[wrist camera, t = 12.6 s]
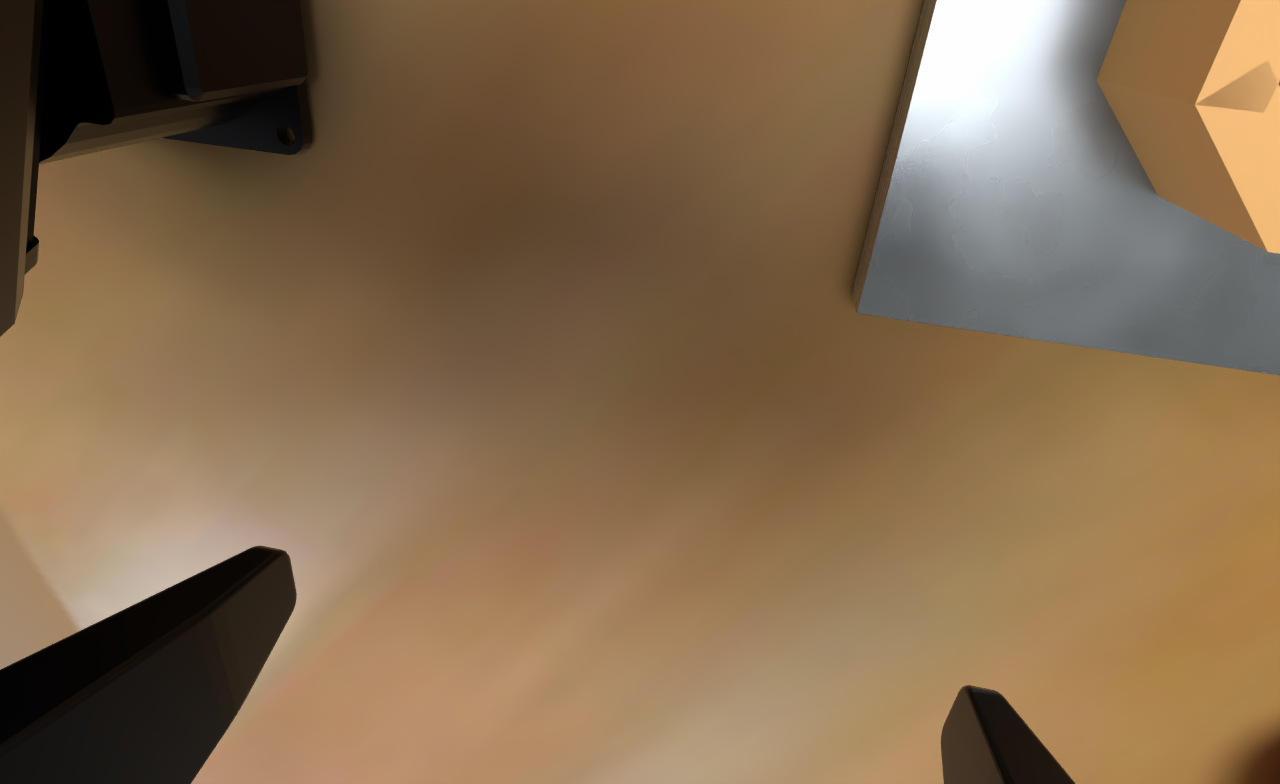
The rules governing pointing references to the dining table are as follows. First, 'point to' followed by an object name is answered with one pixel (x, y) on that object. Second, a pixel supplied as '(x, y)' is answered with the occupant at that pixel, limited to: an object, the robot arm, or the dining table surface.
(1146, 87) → the collar
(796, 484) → the dining table surface
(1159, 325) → the piston stand
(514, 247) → the dining table surface
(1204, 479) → the dining table surface
